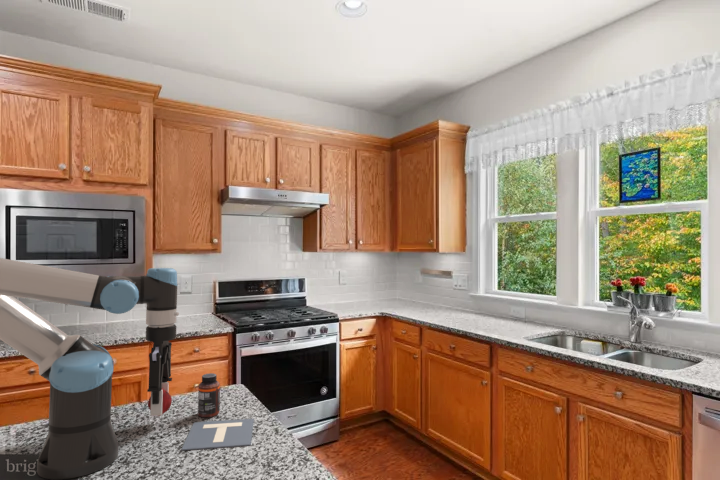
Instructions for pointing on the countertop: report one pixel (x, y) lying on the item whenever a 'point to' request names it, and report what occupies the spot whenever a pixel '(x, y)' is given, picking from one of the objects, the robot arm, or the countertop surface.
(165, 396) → the onion
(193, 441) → the letter card
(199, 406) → the supplement bottle
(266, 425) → the countertop surface
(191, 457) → the countertop surface
